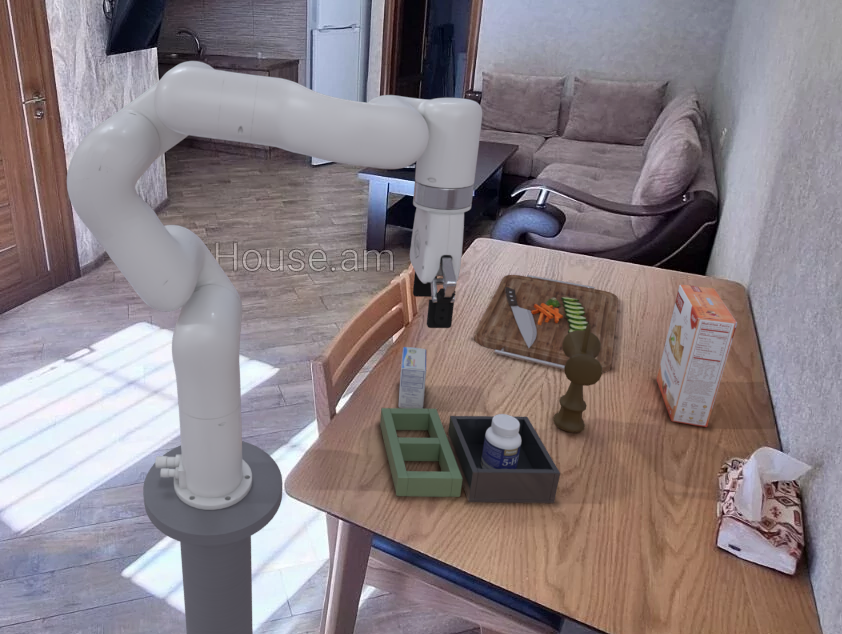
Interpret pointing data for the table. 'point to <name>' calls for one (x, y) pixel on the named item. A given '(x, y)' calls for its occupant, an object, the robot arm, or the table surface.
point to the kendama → (578, 377)
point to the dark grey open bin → (502, 485)
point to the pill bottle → (501, 443)
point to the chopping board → (546, 319)
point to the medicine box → (412, 378)
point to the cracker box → (695, 354)
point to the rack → (419, 453)
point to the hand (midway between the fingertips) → (430, 310)
